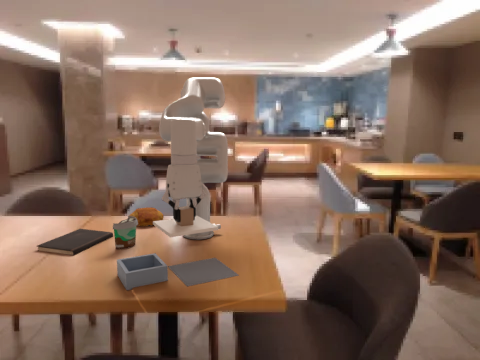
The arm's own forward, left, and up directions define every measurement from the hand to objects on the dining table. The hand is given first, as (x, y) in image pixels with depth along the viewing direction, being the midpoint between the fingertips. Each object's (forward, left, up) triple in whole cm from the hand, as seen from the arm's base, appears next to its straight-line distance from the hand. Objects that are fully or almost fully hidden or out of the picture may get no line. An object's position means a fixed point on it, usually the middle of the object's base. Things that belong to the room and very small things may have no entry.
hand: (184, 219), depth 117 cm
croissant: (-6, -63, -18) cm, 66 cm away
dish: (+13, -3, -17) cm, 22 cm away
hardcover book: (+26, -47, -18) cm, 57 cm away
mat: (-5, +1, -17) cm, 18 cm away
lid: (0, 0, -2) cm, 2 cm away
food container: (+9, -35, -18) cm, 40 cm away
